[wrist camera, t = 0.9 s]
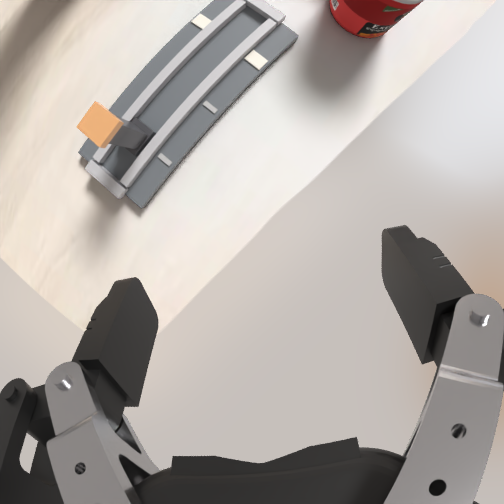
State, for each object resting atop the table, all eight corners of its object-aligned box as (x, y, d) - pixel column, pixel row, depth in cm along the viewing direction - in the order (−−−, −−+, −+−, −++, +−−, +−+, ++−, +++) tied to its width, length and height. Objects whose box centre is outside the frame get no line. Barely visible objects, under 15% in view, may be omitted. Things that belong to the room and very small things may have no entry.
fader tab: (120, 141, 30) (74, 130, 20) (138, 118, 30) (97, 98, 20) (138, 156, 31) (97, 150, 21) (157, 133, 30) (122, 117, 20)
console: (80, 156, 31) (70, 155, 29) (232, -10, 27) (231, -20, 25) (141, 210, 33) (135, 213, 31) (299, 37, 29) (303, 28, 27)
